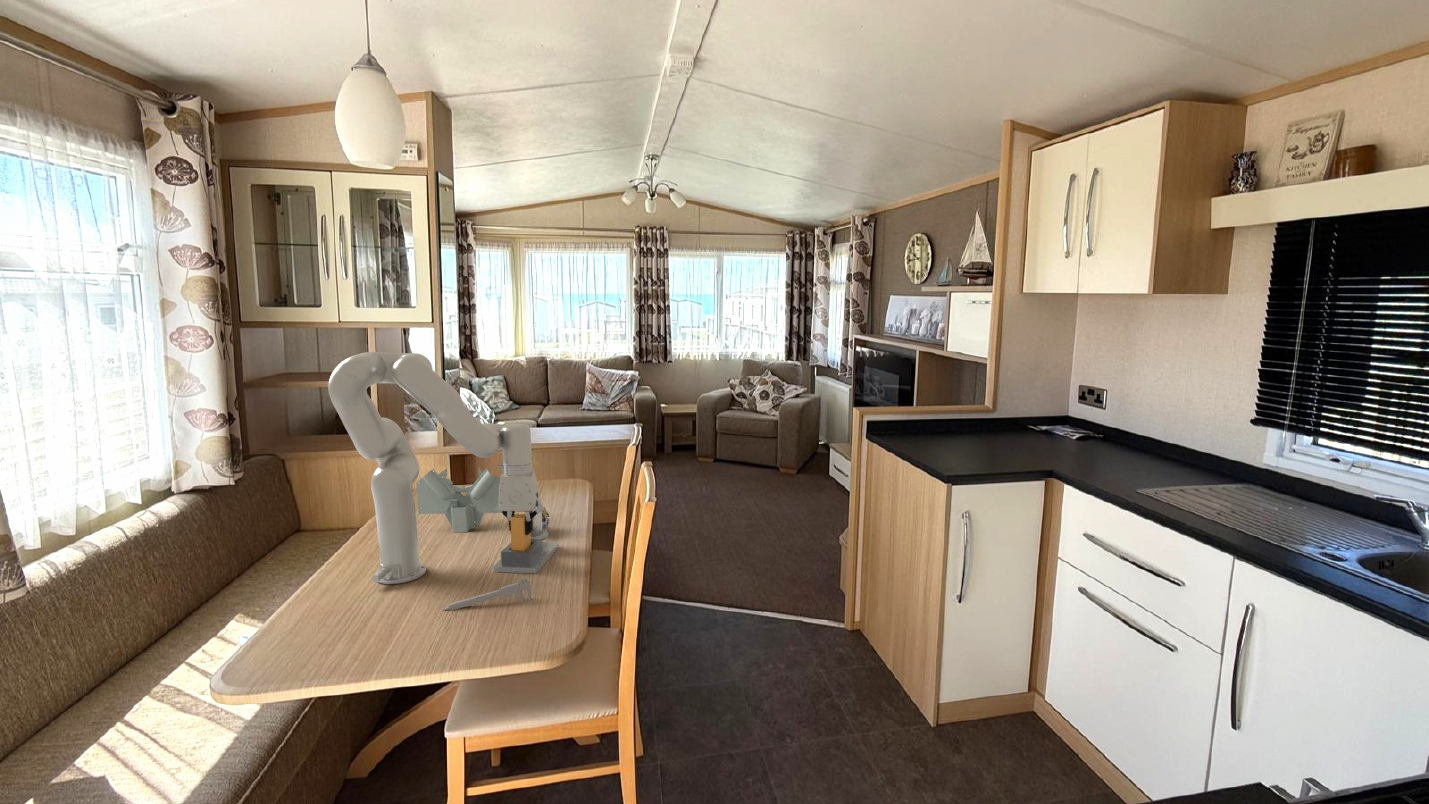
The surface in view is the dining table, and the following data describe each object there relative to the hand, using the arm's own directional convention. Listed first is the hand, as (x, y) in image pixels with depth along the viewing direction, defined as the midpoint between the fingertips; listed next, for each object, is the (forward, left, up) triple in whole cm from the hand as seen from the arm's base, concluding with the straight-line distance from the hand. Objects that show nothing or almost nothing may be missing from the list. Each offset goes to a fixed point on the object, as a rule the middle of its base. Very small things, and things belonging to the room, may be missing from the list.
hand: (521, 532), depth 186 cm
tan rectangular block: (-1, 0, -6) cm, 6 cm away
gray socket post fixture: (+4, 0, -9) cm, 10 cm away
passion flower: (+23, +6, -10) cm, 26 cm away
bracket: (+26, +30, -10) cm, 41 cm away
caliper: (-24, -1, -10) cm, 26 cm away
